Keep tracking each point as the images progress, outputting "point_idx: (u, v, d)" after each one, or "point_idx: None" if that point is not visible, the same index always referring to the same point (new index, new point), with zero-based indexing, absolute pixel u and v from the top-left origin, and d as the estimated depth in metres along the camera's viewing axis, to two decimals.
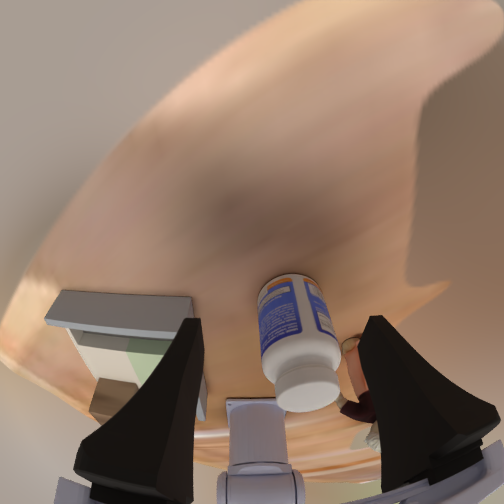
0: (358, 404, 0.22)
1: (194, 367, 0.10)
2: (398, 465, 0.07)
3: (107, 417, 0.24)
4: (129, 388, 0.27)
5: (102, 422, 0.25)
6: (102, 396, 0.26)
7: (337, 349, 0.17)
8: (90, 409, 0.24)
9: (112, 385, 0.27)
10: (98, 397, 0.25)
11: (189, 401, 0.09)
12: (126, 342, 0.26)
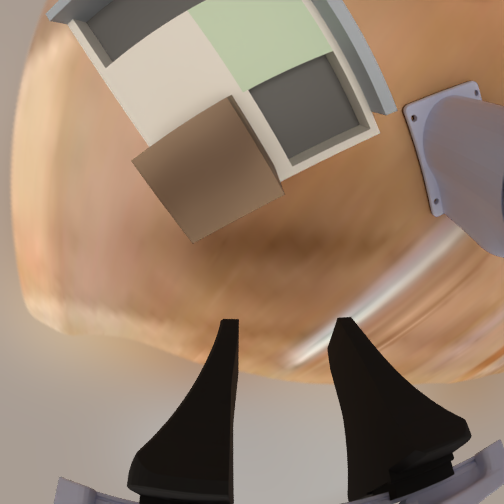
0: None
1: (235, 368, 0.10)
2: (362, 475, 0.07)
3: (179, 146, 0.11)
4: None
5: (177, 201, 0.12)
6: None
7: None
8: (136, 157, 0.11)
9: None
10: None
11: (232, 403, 0.09)
12: None
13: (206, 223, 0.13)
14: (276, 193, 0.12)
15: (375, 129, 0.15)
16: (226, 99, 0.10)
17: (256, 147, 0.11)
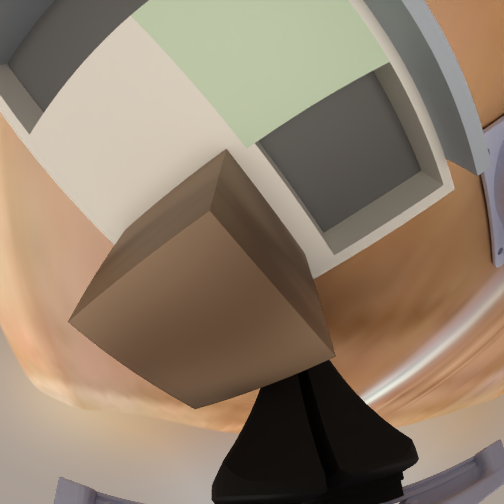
0: None
1: None
2: None
3: (136, 307, 0.06)
4: (208, 166, 0.08)
5: (158, 372, 0.07)
6: (120, 249, 0.08)
7: None
8: (75, 312, 0.06)
9: (155, 207, 0.09)
10: (108, 262, 0.07)
11: None
12: None
13: (210, 393, 0.08)
14: (321, 357, 0.07)
15: (449, 184, 0.09)
16: (209, 216, 0.05)
17: (286, 302, 0.06)
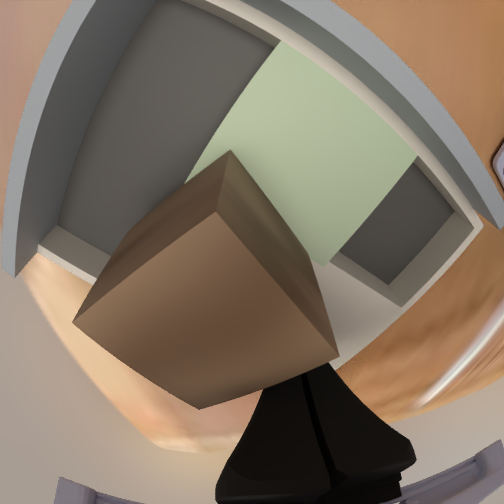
0: None
1: None
2: None
3: (141, 308, 0.06)
4: (212, 167, 0.08)
5: (162, 373, 0.07)
6: (124, 250, 0.08)
7: None
8: (79, 312, 0.06)
9: (159, 208, 0.09)
10: (112, 262, 0.08)
11: None
12: None
13: (214, 394, 0.08)
14: (326, 357, 0.07)
15: (479, 225, 0.10)
16: (215, 217, 0.05)
17: (291, 302, 0.06)
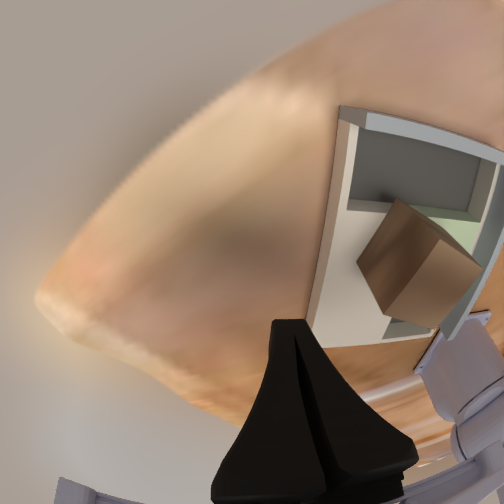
0: None
1: None
2: None
3: (454, 265, 0.12)
4: (444, 230, 0.15)
5: (416, 286, 0.12)
6: (430, 225, 0.13)
7: None
8: (438, 237, 0.11)
9: (424, 217, 0.15)
10: (427, 224, 0.13)
11: None
12: (414, 208, 0.17)
13: (403, 311, 0.13)
14: (434, 326, 0.14)
15: (431, 334, 0.22)
16: (482, 269, 0.12)
17: (458, 300, 0.13)
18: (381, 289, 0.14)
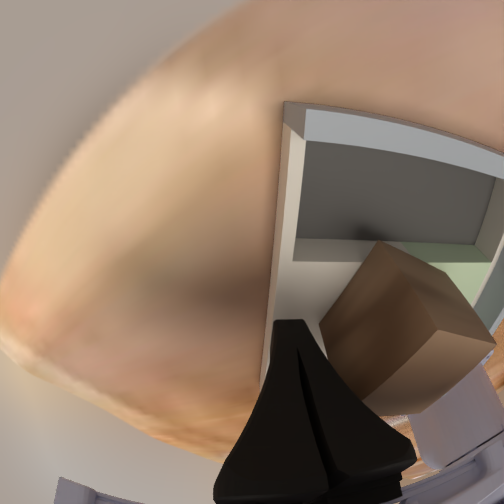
0: None
1: None
2: None
3: (456, 353, 0.07)
4: (447, 280, 0.11)
5: (393, 386, 0.08)
6: (427, 287, 0.09)
7: None
8: (436, 323, 0.07)
9: (420, 266, 0.10)
10: (422, 289, 0.08)
11: None
12: (401, 248, 0.12)
13: (373, 409, 0.09)
14: (419, 411, 0.10)
15: None
16: (495, 345, 0.08)
17: (456, 382, 0.09)
18: (344, 379, 0.10)
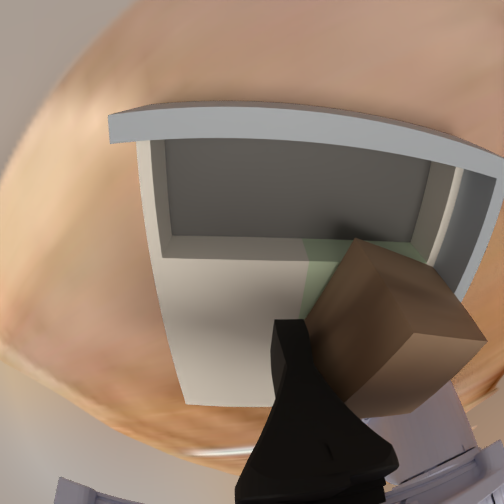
0: None
1: None
2: None
3: (439, 353, 0.07)
4: (433, 274, 0.11)
5: (373, 390, 0.08)
6: (407, 286, 0.09)
7: None
8: (413, 326, 0.07)
9: (401, 262, 0.10)
10: (400, 288, 0.08)
11: None
12: (298, 245, 0.12)
13: (356, 412, 0.09)
14: (409, 411, 0.10)
15: None
16: (485, 342, 0.07)
17: (446, 381, 0.09)
18: None
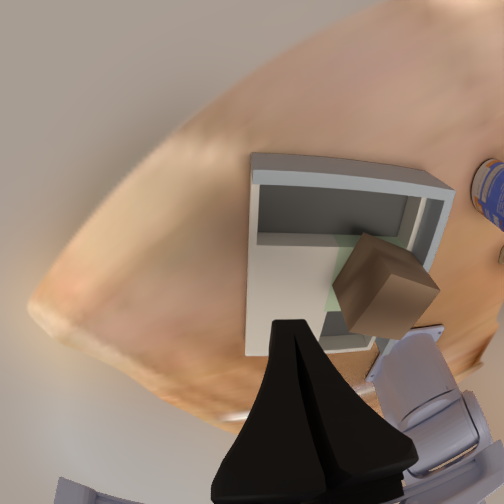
0: None
1: None
2: None
3: (409, 291, 0.16)
4: (410, 255, 0.19)
5: (374, 310, 0.16)
6: (390, 256, 0.17)
7: None
8: (391, 271, 0.15)
9: (389, 246, 0.19)
10: (386, 257, 0.17)
11: None
12: (331, 238, 0.20)
13: (366, 328, 0.17)
14: (399, 338, 0.18)
15: (369, 347, 0.26)
16: (439, 291, 0.16)
17: (419, 316, 0.17)
18: (348, 311, 0.18)
